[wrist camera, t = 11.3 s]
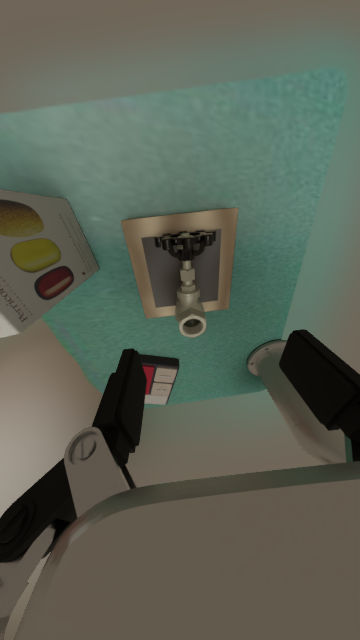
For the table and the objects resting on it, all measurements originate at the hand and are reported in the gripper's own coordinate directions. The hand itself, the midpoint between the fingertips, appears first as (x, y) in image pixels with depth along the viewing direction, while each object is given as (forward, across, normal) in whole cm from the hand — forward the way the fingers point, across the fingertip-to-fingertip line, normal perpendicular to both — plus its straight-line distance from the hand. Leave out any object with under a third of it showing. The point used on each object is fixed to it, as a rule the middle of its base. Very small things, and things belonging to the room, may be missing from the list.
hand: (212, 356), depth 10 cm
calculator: (+21, +11, +27) cm, 36 cm away
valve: (+16, 0, 0) cm, 16 cm away
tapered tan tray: (+20, 0, -1) cm, 20 cm away
